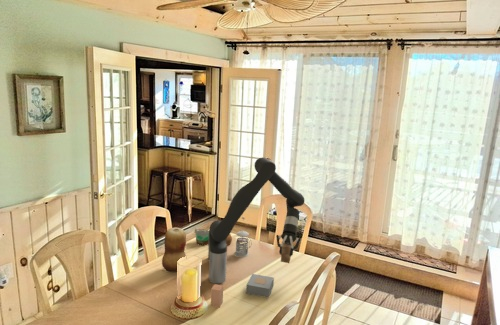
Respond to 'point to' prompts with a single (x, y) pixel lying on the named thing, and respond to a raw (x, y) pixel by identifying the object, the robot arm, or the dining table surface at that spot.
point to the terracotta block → (216, 295)
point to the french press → (243, 251)
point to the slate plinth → (260, 285)
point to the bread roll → (229, 239)
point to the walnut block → (286, 253)
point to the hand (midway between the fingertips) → (285, 255)
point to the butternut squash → (173, 248)
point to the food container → (202, 236)
